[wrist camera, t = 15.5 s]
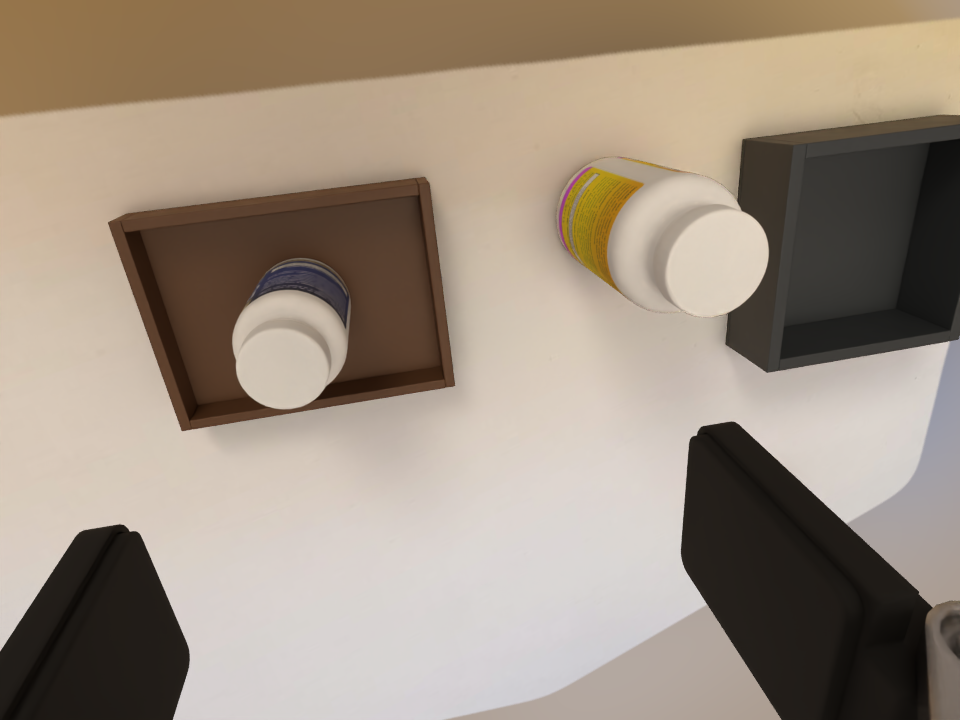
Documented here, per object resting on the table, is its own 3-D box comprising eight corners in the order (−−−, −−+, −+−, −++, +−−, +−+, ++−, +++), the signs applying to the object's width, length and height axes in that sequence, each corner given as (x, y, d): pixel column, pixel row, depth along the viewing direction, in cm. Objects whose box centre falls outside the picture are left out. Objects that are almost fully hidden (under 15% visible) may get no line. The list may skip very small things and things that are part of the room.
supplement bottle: (561, 277, 38) (648, 357, 26) (544, 170, 35) (633, 207, 23) (661, 250, 38) (790, 318, 27) (652, 143, 35) (792, 166, 24)
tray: (192, 411, 37) (181, 431, 35) (125, 213, 32) (107, 222, 30) (450, 369, 39) (455, 386, 37) (425, 176, 34) (429, 182, 32)
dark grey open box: (725, 344, 42) (766, 373, 38) (742, 139, 36) (793, 145, 32) (900, 315, 43) (959, 339, 39) (942, 114, 38) (1017, 116, 33)
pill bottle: (248, 259, 34) (206, 316, 25) (346, 253, 34) (338, 307, 26) (264, 347, 36) (230, 429, 27) (355, 340, 37) (351, 417, 28)
